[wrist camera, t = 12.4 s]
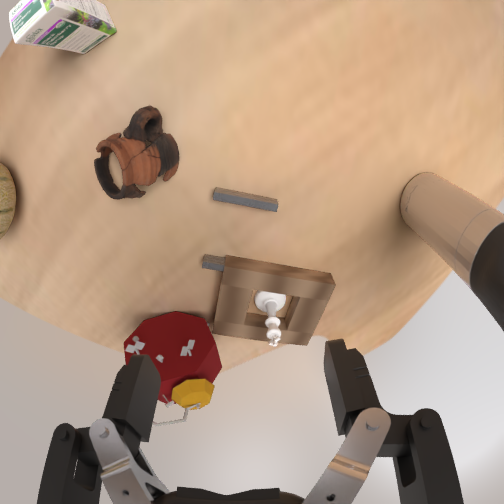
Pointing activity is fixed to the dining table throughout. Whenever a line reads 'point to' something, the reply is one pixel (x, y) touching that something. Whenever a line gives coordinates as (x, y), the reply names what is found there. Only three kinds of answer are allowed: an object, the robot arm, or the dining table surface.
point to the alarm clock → (178, 358)
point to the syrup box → (61, 24)
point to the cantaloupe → (6, 199)
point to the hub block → (275, 281)
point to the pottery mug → (138, 155)
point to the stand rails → (240, 199)
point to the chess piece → (271, 312)
